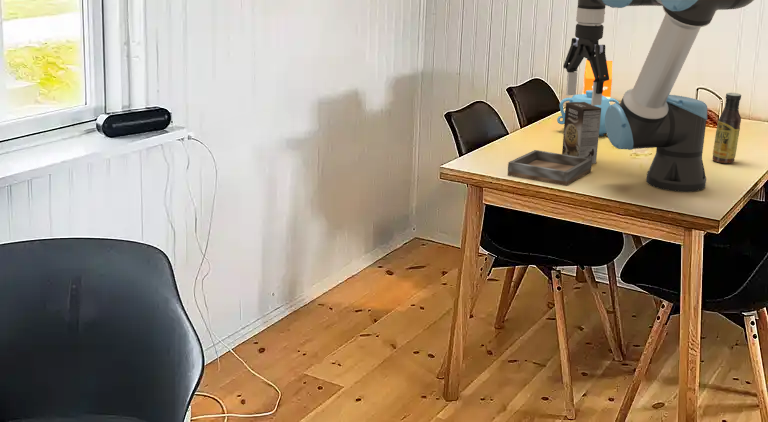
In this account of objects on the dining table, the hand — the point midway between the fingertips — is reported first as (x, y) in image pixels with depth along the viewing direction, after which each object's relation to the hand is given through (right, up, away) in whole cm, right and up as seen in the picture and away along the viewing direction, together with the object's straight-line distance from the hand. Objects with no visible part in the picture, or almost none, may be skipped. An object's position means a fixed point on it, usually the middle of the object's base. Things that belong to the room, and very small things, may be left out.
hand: (583, 100), depth 281 cm
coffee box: (0, -17, +5) cm, 18 cm away
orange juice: (+15, 0, +58) cm, 60 cm away
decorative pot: (+9, -6, +39) cm, 40 cm away
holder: (-11, -21, -9) cm, 25 cm away
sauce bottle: (+42, -17, +7) cm, 46 cm away
